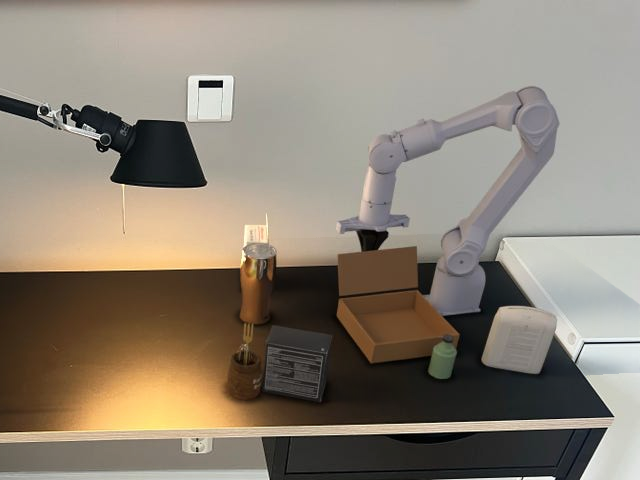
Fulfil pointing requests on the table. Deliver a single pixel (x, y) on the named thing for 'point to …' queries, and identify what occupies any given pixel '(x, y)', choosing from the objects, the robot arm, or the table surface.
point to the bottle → (443, 358)
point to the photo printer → (519, 339)
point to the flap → (377, 270)
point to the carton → (394, 325)
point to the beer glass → (257, 281)
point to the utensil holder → (245, 371)
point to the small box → (296, 363)
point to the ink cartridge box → (256, 233)
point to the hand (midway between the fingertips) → (366, 261)
